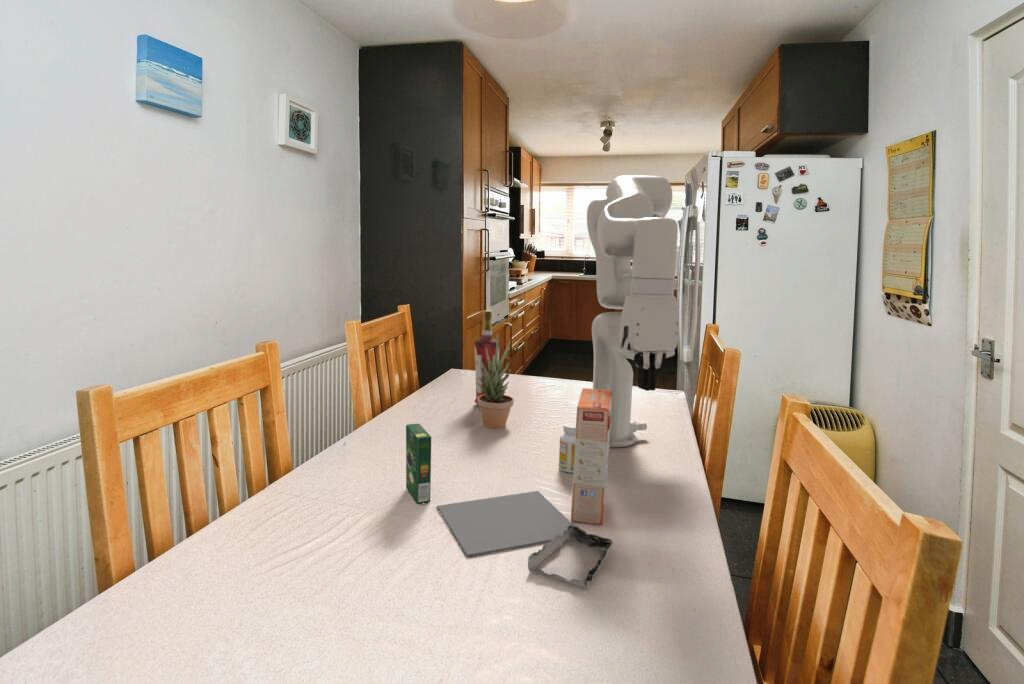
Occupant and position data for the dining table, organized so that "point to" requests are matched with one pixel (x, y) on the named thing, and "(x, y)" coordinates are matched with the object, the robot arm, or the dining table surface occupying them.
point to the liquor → (484, 351)
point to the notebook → (503, 522)
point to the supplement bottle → (567, 448)
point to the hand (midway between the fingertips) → (646, 388)
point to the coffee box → (418, 463)
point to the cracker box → (591, 456)
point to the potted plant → (495, 392)
